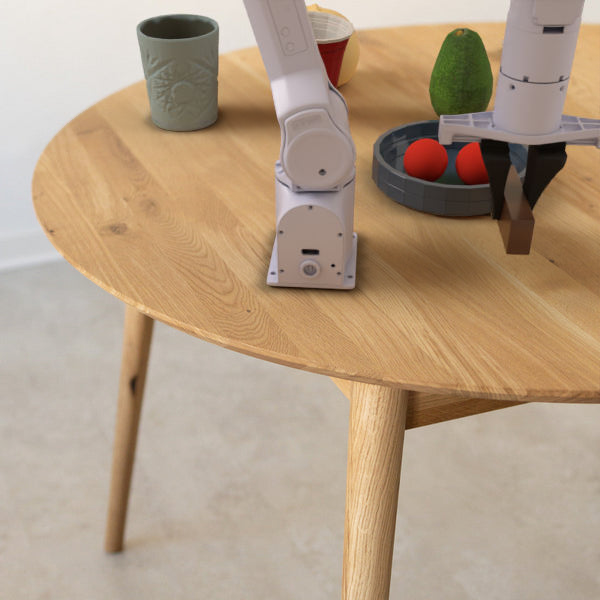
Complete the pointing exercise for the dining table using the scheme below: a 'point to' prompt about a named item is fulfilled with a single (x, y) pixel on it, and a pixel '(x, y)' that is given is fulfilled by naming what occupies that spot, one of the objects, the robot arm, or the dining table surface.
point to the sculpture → (350, 53)
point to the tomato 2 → (471, 165)
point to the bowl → (444, 191)
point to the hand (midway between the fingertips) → (509, 215)
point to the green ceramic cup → (181, 69)
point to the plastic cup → (331, 41)
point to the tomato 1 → (426, 160)
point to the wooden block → (516, 217)
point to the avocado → (461, 75)
